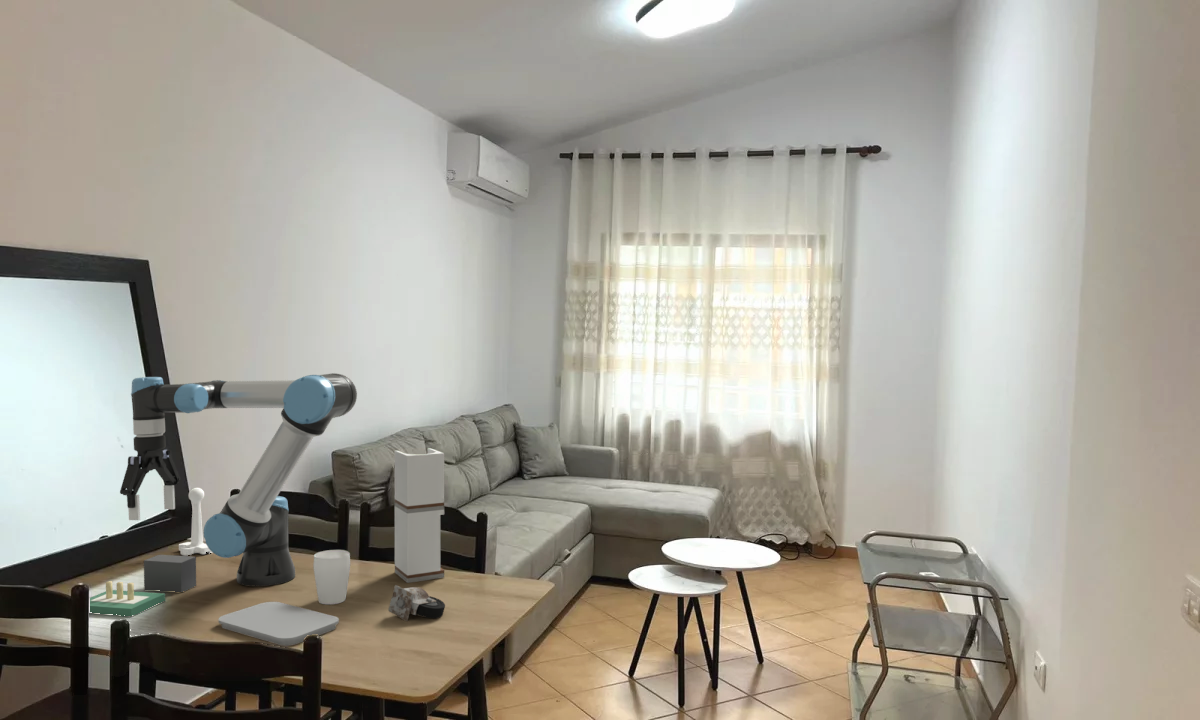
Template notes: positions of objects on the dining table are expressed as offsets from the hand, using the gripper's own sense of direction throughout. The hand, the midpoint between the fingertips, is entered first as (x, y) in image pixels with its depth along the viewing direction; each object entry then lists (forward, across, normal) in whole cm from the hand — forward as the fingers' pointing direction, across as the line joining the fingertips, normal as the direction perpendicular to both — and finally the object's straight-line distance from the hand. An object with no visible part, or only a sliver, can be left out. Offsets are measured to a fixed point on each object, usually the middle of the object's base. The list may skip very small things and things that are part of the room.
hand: (152, 514), depth 229 cm
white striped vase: (+22, -25, +64) cm, 72 cm away
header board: (+20, +16, +2) cm, 25 cm away
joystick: (+20, -33, -13) cm, 40 cm away
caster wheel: (+22, +7, +77) cm, 81 cm away
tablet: (+22, +21, +48) cm, 57 cm away
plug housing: (+20, 0, +4) cm, 20 cm away
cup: (+22, +1, +51) cm, 56 cm away
